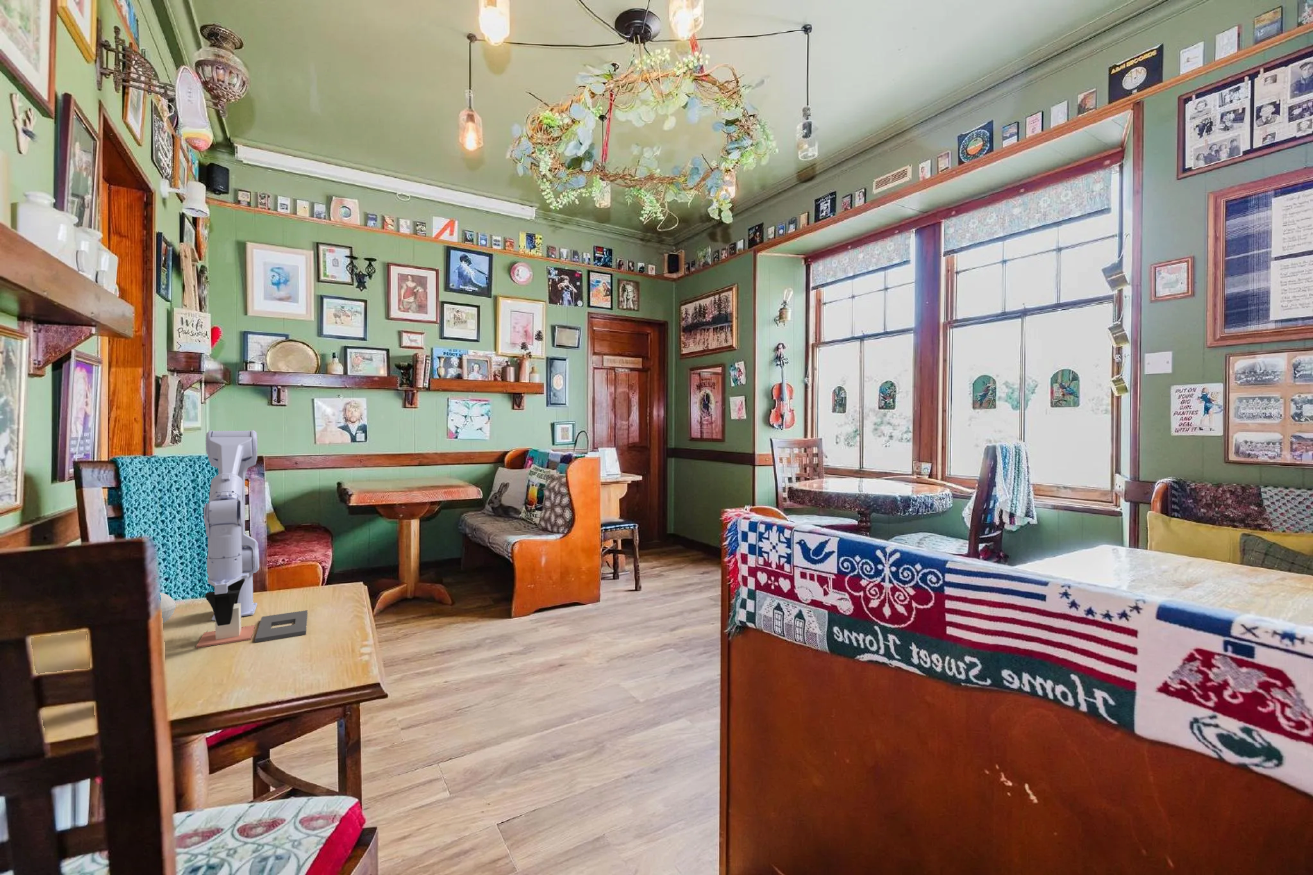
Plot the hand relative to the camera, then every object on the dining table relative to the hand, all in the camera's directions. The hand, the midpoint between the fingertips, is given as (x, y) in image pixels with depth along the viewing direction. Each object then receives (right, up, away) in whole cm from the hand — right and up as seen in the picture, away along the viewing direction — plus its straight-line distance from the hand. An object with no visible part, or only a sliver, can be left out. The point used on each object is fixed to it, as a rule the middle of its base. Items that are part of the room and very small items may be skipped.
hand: (226, 619), depth 122 cm
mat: (0, -4, 0) cm, 4 cm away
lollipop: (+1, -4, -19) cm, 19 cm away
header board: (+8, -4, +6) cm, 11 cm away
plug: (0, -3, 0) cm, 3 cm away
